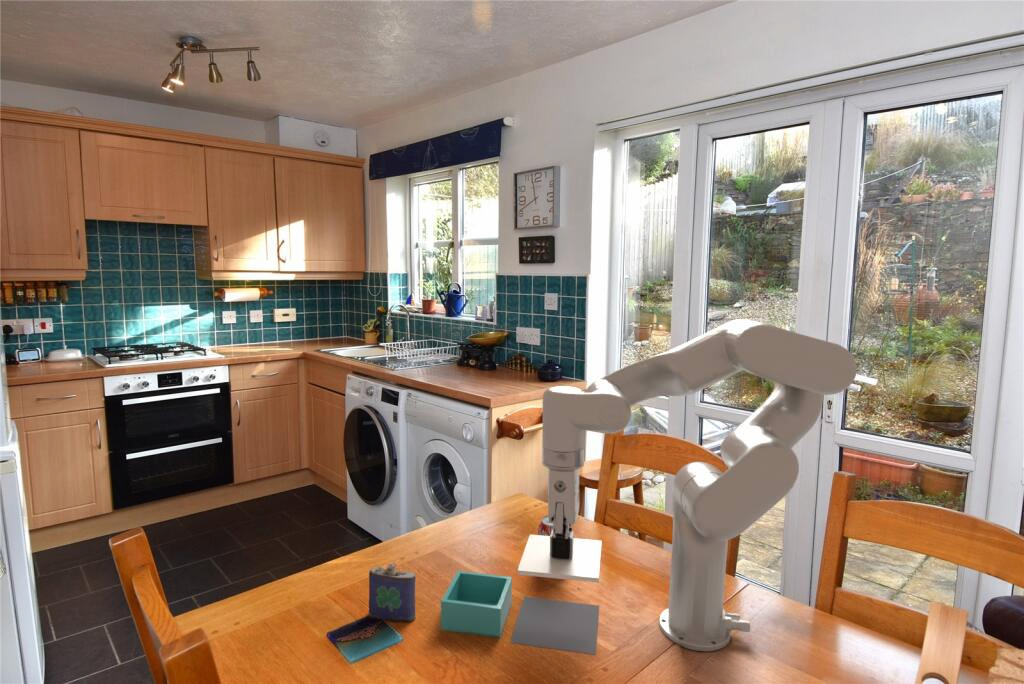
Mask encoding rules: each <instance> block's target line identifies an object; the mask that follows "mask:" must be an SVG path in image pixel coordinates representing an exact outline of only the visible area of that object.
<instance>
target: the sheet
mask: <svg viewBox="0 0 1024 684" xmlns="http://www.w3.org/2000/svg"><path fill="white" fill-rule="evenodd" d="M574 533H575V532H574V530H572V531H569V537H570V558H569V559H560V558H553V557H552V535H553V529H552V532H551V535H550V536H542V535H538V534H529V537H528V539H527V542H526V545H525V547H524V550H523V553H522V556H521V558H520V562H519V565H518V569H517V575H519V576H529V577H537V578H538V577H540V578H548V579H558V580H566V581H567V580H569V581H579V582H588V583H599V582H600V571H601V560H602V558H601V557H602V542H603V540H599V539H587V538H577V537H575V534H574Z"/></svg>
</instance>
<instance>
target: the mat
mask: <svg viewBox="0 0 1024 684" xmlns="http://www.w3.org/2000/svg"><path fill="white" fill-rule="evenodd" d="M599 613H600V605H598V604H597V605H596V604H589V603H583V602H580V603H579V602H572V601H563V600H555V599H548V598H543V597H542V598H541V597H535V596H534V597H533V596H532V597H531V596H523V599H522V602H521V605H520V609H519V612H518V615H517V619H516V622H515V625H514V629H513V632H512V634H511V639H510V641H509V643H510V644H516V645H522V646H530V647H537V648H544V649H550V650H557V651H564V652H565V651H566V652H573V653H579V654H587V655H594V656H596V655H597V643H598V630H599V616H600V614H599Z"/></svg>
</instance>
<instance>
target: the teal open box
mask: <svg viewBox="0 0 1024 684" xmlns="http://www.w3.org/2000/svg"><path fill="white" fill-rule="evenodd" d="M512 590H513V577H512V576H508V575H507V576H505V575H497V574H490V573H489V574H487V573H480V572H479V573H478V572H471V571H465V570H464V571H462V570H457V571H456V573H455V575H454V577H453V579H452V580H451V582H450V585H449V586H448V588H447V589H446V591H445V593H444V595H443V597H442V599H441V600H440V630H441V631H447V632H454V633H460V634H461V633H462V634H469V635H476V636H477V635H478V636H482V637H484V636H485V637H491V638H501V637H502V634H503V631H504V627H505V624H506V621H507V618H508V616H509V613H510V609H511V606H512V600H513V599H512V598H513V591H512Z"/></svg>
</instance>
